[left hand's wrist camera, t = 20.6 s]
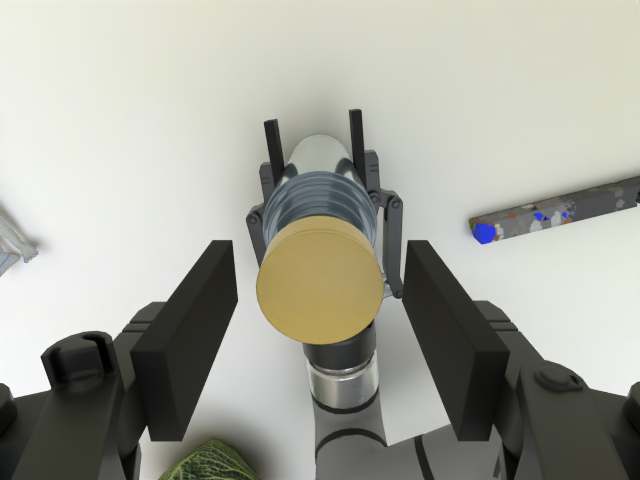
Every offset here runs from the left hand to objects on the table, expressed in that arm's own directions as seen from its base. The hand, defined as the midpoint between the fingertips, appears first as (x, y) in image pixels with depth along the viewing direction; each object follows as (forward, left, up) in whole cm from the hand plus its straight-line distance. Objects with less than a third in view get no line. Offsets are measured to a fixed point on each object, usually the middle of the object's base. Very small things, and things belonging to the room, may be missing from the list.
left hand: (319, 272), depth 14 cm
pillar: (-6, +26, -24) cm, 36 cm away
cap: (0, 0, +1) cm, 1 cm away
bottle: (0, 0, -24) cm, 24 cm away
